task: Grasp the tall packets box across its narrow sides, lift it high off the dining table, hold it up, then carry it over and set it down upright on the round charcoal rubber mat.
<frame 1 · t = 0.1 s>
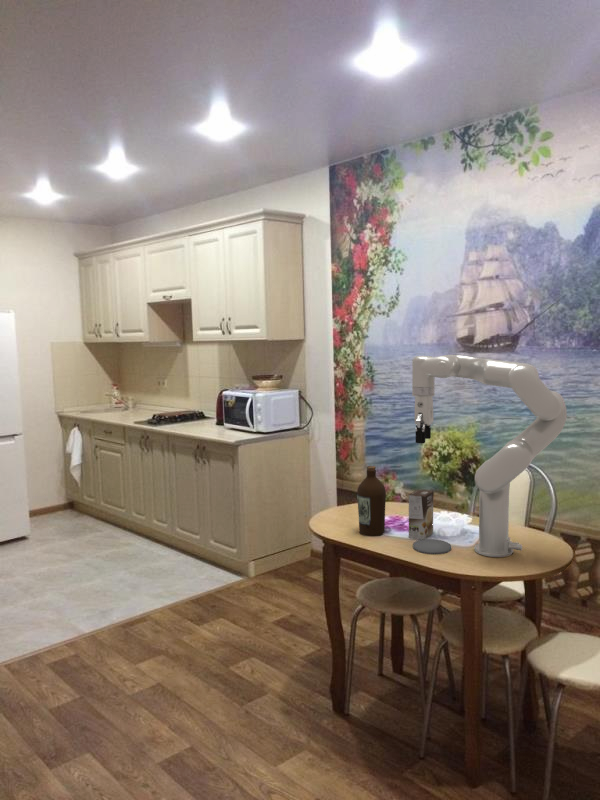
hand: (423, 440, 227), 37 cm above the table, tool pointing down, fingers open, 9 cm apart
coffee box: (421, 536, 240), on the table
mat: (432, 547, 226), on the table
olive oil: (371, 532, 245), on the table
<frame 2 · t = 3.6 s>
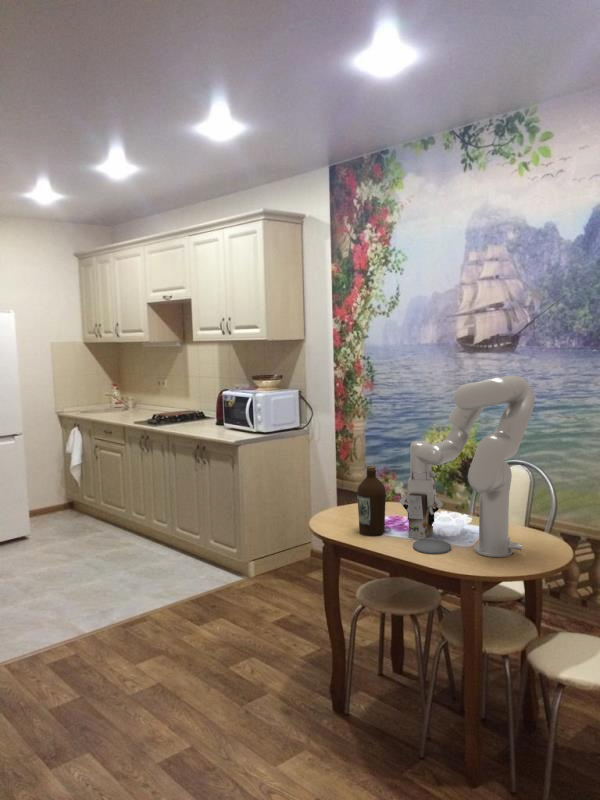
hand: (420, 522, 239), 5 cm above the table, tool pointing down, fingers closed on coffee box, 6 cm apart
coffee box: (421, 536, 240), on the table, touching gripper
everything else where it was.
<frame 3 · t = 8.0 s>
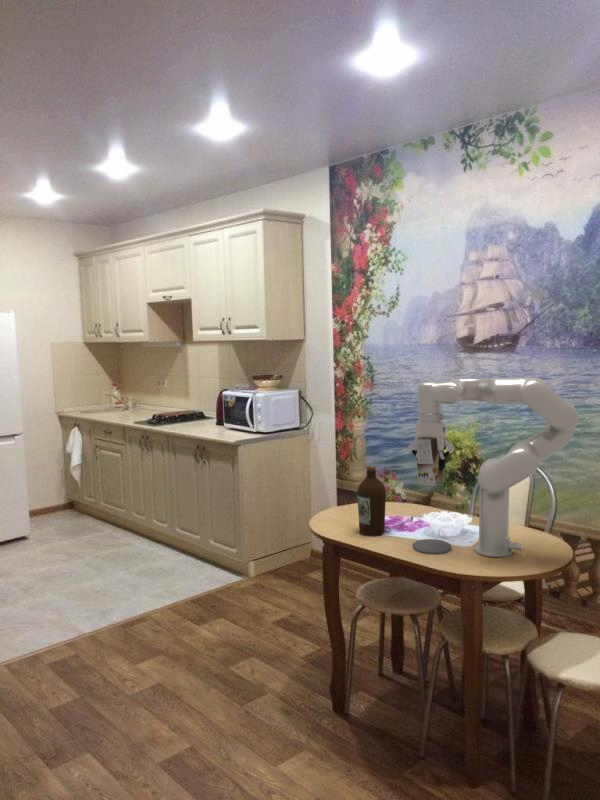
hand: (431, 469, 225), 27 cm above the table, tool pointing down, fingers closed on coffee box, 6 cm apart
coffee box: (431, 483, 225), point 22 cm above the table, touching gripper
everything else where it was.
when the fingers open (8 cm above the table, at t = 12.6 s): coffee box drops 2 cm, resting on mat.
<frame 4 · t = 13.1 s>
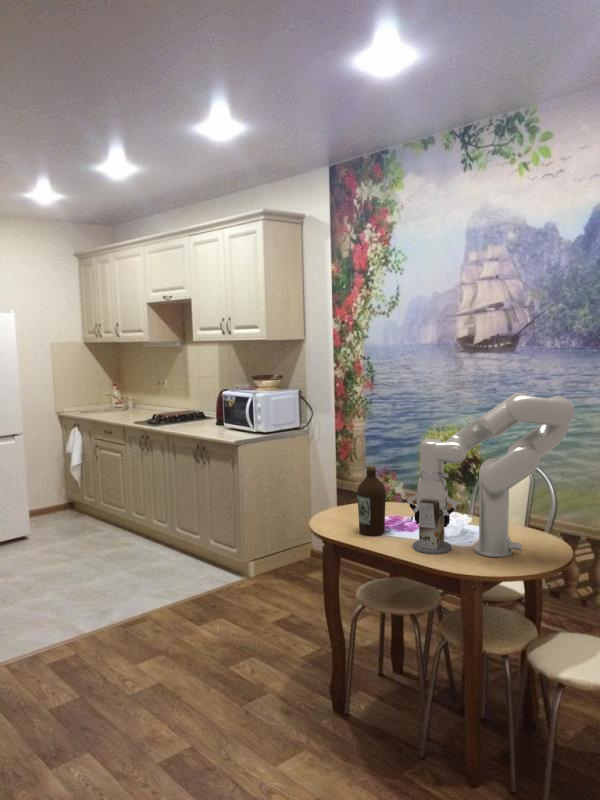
hand: (432, 524, 225), 8 cm above the table, tool pointing down, fingers open, 9 cm apart
coffee box: (431, 545, 226), point 1 cm above the table, touching mat
everything else where it was.
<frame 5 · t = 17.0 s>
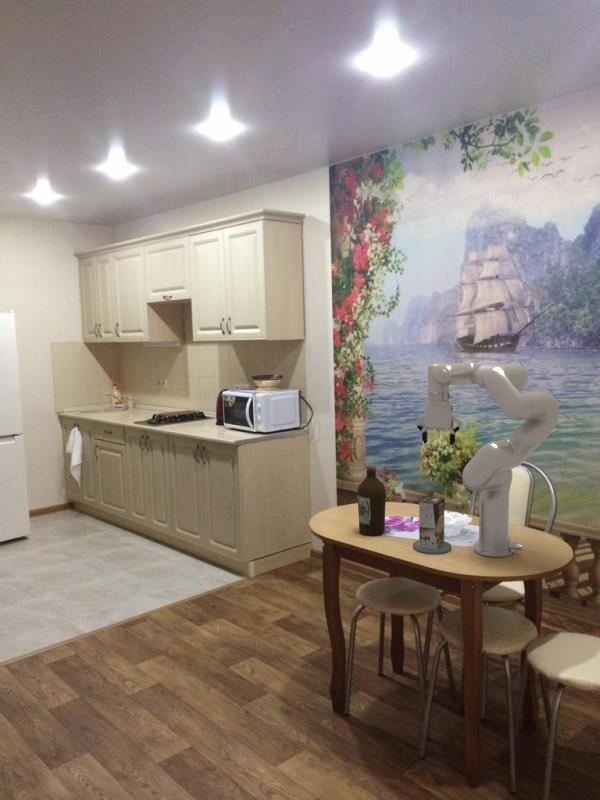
hand: (438, 443, 239), 33 cm above the table, tool pointing down, fingers open, 9 cm apart
nothing on the table moved.
at the end: coffee box inside the target area on the mat (0.1 cm from its centre), point 0.8 cm above the mat's base; coffee box tilted 0°; the gripper is holding nothing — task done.
